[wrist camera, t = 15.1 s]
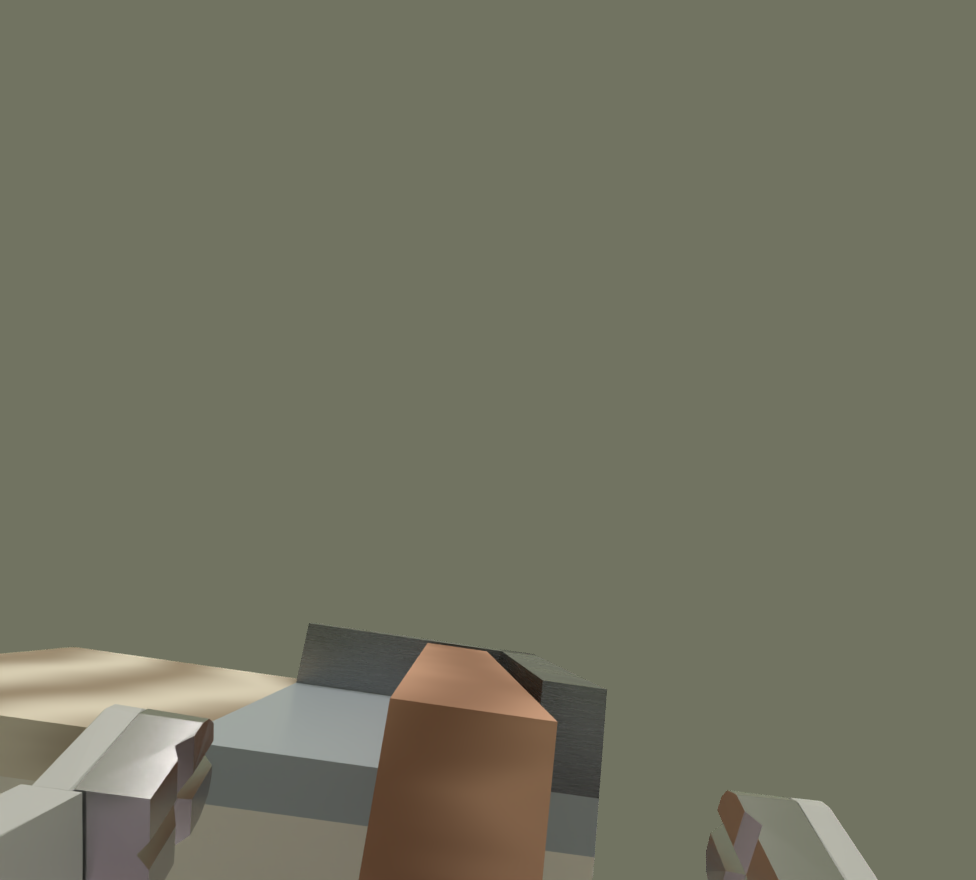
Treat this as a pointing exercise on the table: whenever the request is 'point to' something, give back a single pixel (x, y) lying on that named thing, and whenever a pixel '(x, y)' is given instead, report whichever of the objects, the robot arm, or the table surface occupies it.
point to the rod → (461, 775)
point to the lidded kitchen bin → (292, 746)
